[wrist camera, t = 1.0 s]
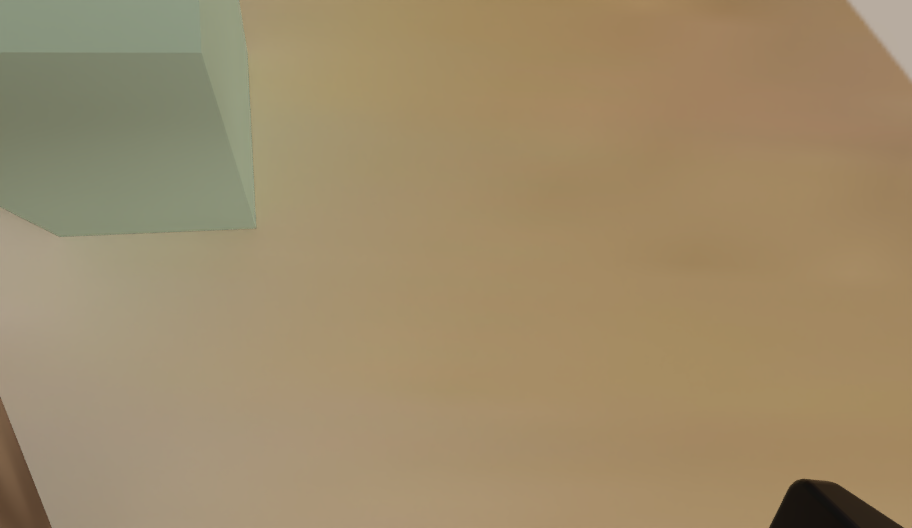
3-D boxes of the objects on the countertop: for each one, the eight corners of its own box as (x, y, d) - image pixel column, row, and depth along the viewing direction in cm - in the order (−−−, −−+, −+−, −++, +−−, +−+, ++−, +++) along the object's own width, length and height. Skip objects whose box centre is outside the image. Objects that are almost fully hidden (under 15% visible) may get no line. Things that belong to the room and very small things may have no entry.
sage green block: (256, 228, 22) (201, 53, 9) (59, 236, 21) (-309, 51, 8) (247, 52, 22) (184, -346, 10) (55, 51, 21) (-298, -393, 9)
